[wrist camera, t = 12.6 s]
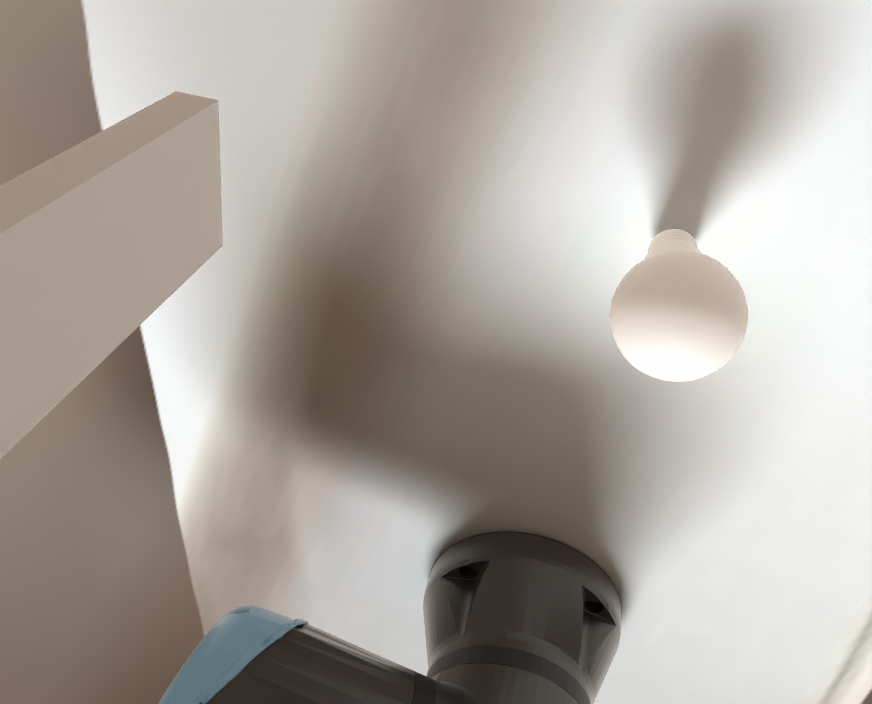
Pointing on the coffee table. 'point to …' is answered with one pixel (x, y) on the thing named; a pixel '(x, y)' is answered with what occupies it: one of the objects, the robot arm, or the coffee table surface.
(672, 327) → the lightbulb
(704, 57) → the coffee table surface
